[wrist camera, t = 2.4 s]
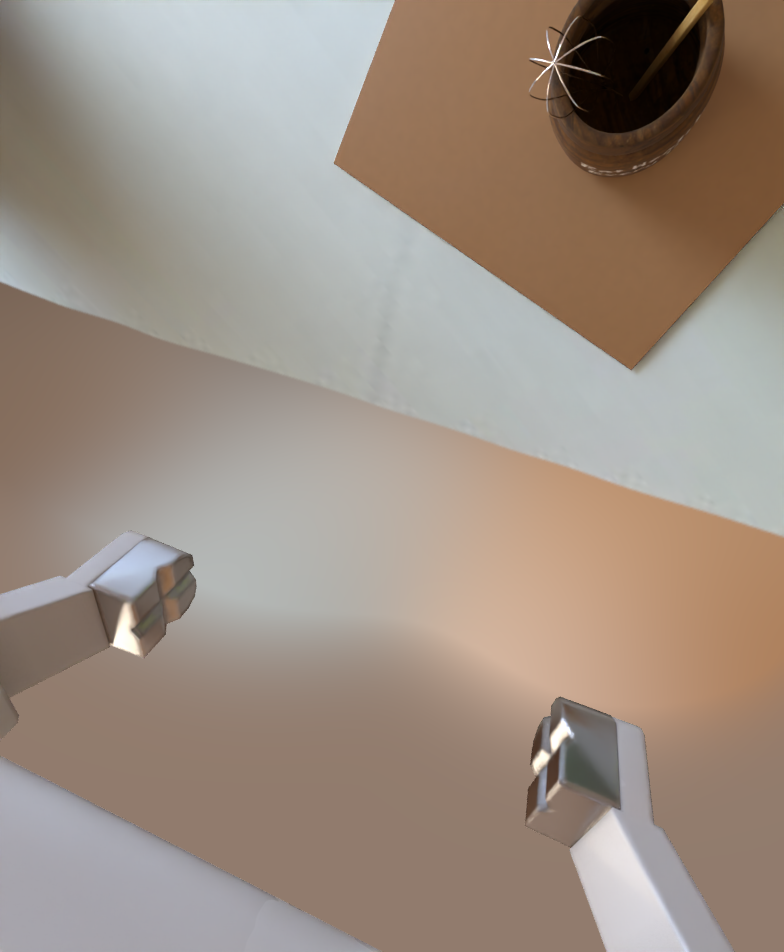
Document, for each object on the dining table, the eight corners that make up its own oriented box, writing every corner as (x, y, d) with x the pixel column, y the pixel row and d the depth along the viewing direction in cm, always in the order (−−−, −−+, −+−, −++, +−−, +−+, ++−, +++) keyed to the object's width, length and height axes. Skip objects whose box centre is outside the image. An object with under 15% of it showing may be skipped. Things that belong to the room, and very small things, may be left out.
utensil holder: (535, 80, 22) (473, -37, 12) (689, -34, 19) (769, -314, 9) (583, 207, 24) (561, 192, 14) (734, 120, 20) (846, 19, 11)
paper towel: (335, 163, 27) (333, 163, 27) (573, -467, 16) (573, -474, 16) (631, 369, 26) (631, 370, 26) (1112, -159, 15) (1118, -164, 15)
